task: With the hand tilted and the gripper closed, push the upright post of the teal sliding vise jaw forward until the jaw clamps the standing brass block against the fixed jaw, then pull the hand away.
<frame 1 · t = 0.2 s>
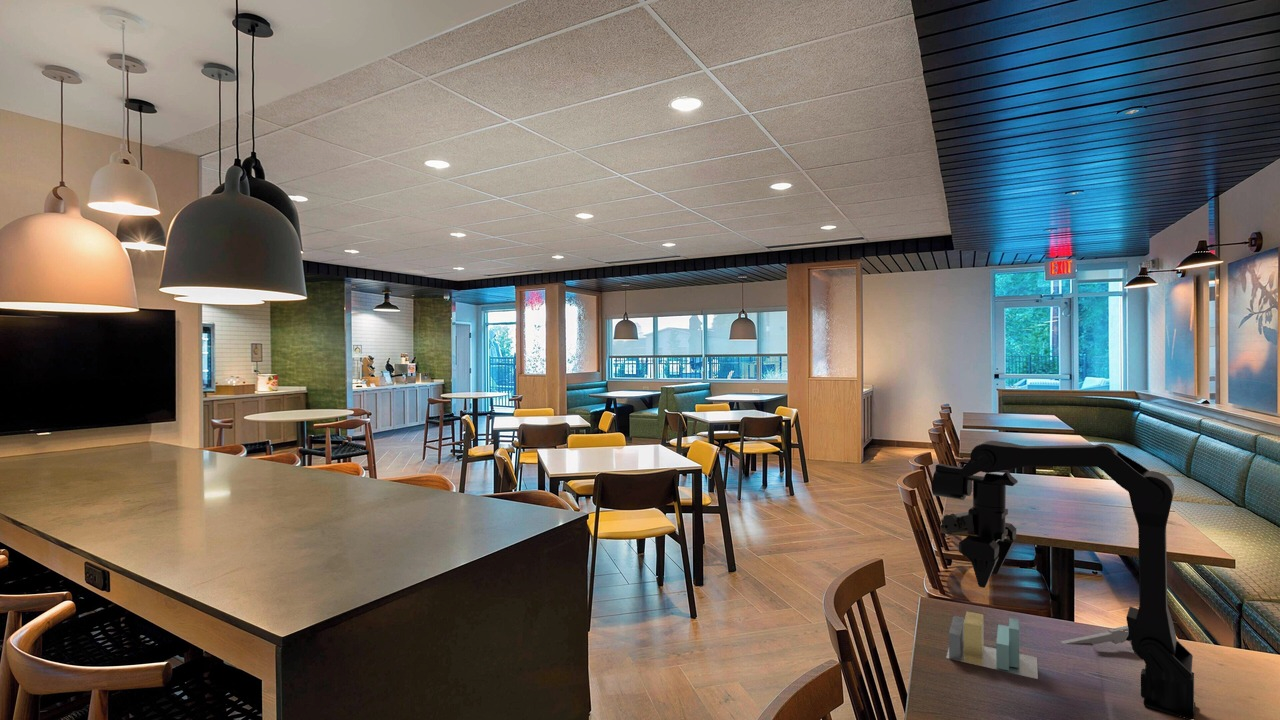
hand: (988, 580, 123), 15 cm above the table, tool pointing down, fingers open, 9 cm apart
brass block: (974, 653, 120), point 1 cm above the table, touching vise
vise: (991, 665, 119), on the table
vise jaw: (1008, 641, 117), point 5 cm above the table, slide at 0.0 cm
grey long thin bar: (1096, 651, 124), on the table
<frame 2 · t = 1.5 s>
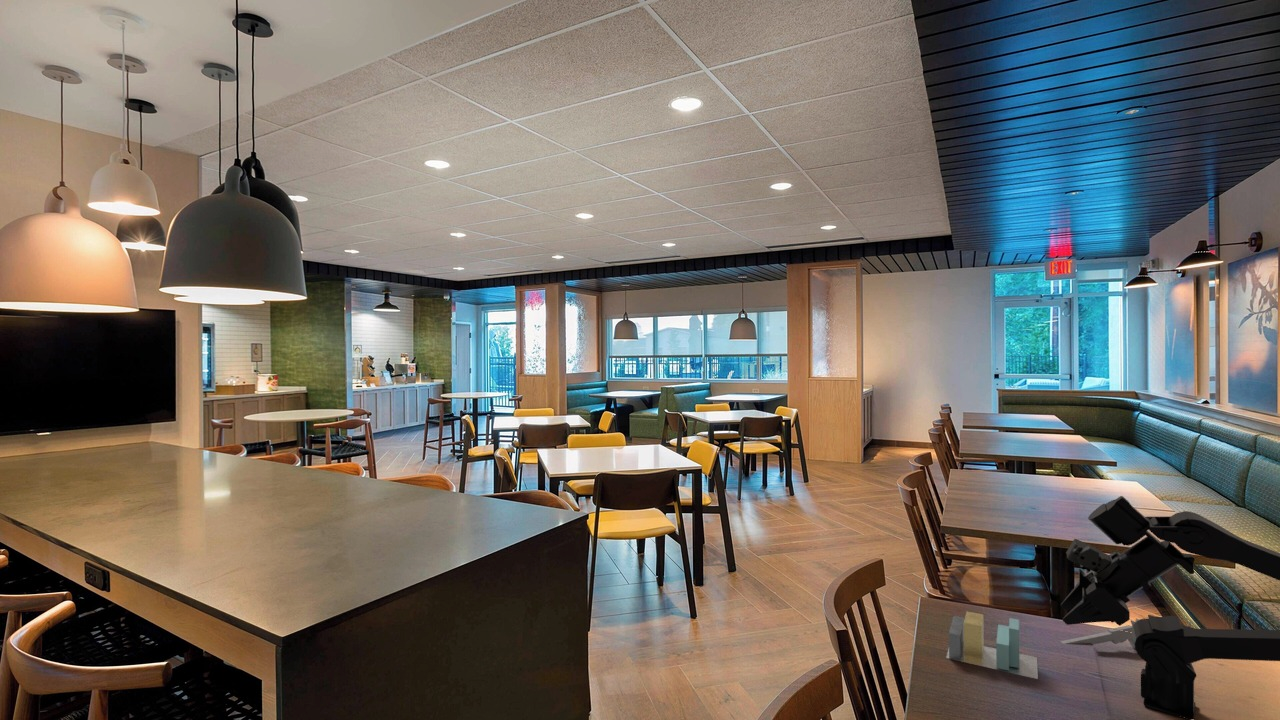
hand: (1063, 614, 112), 13 cm above the table, tool tilted 45°, fingers open, 7 cm apart
nothing on the table moved.
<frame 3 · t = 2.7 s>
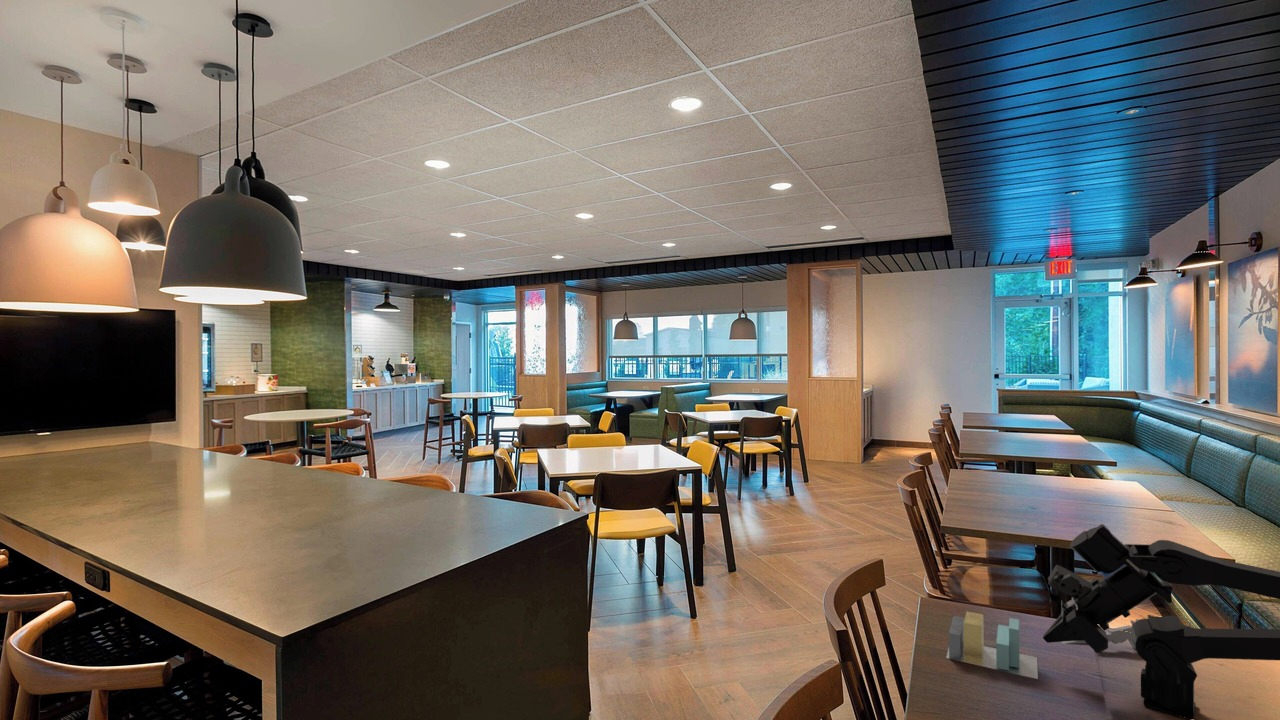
hand: (1044, 639, 114), 7 cm above the table, tool tilted 45°, fingers closed
nothing on the table moved.
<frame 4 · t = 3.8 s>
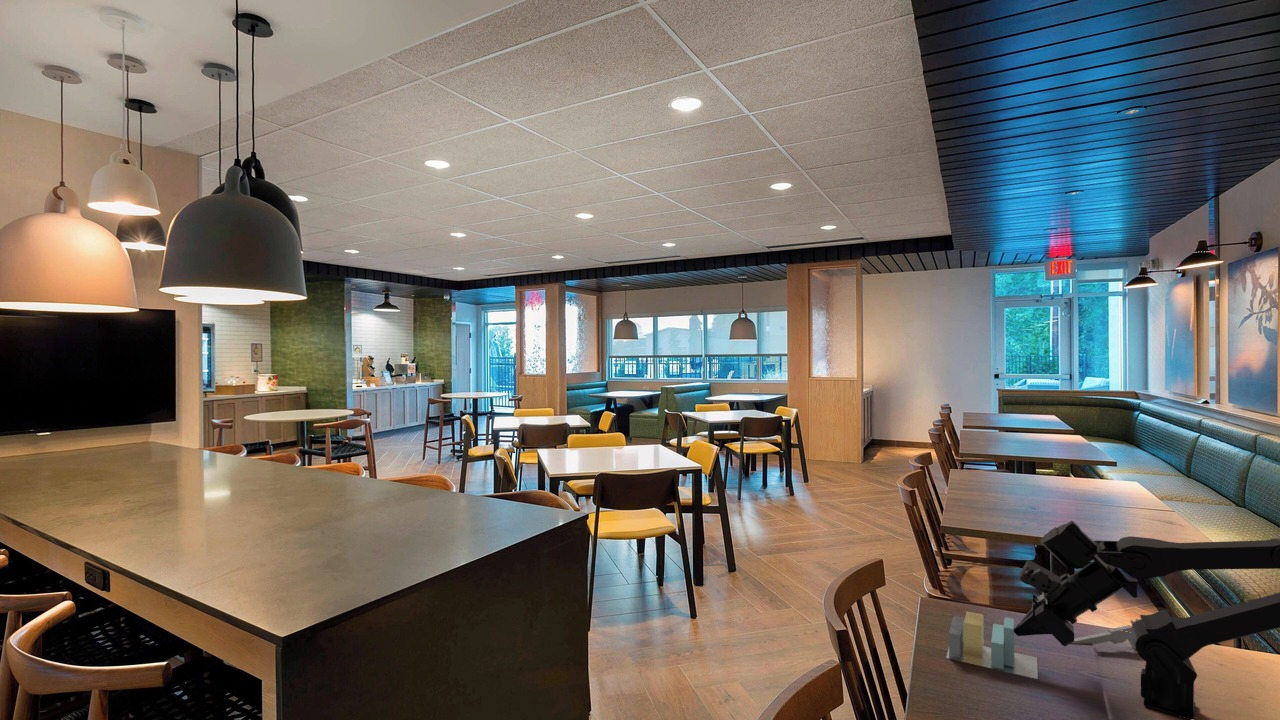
hand: (1015, 633, 116), 7 cm above the table, tool tilted 45°, fingers closed, pressing on vise jaw
vise jaw: (1003, 640, 117), point 5 cm above the table, slide at 0.9 cm, touching gripper
everything else where it was.
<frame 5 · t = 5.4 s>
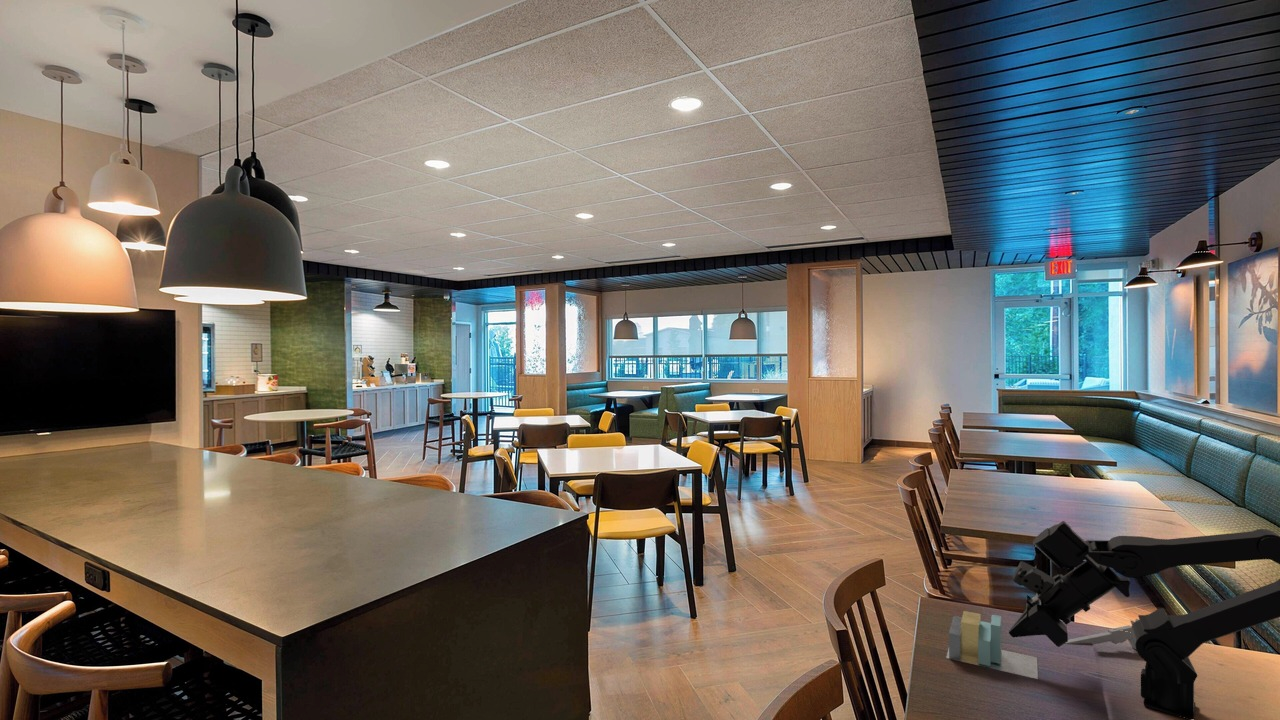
hand: (1010, 634, 117), 7 cm above the table, tool tilted 45°, fingers closed
brass block: (971, 653, 120), point 1 cm above the table, touching vise, vise jaw
vise jaw: (990, 637, 119), point 5 cm above the table, slide at 3.0 cm, touching brass block
everything else where it was.
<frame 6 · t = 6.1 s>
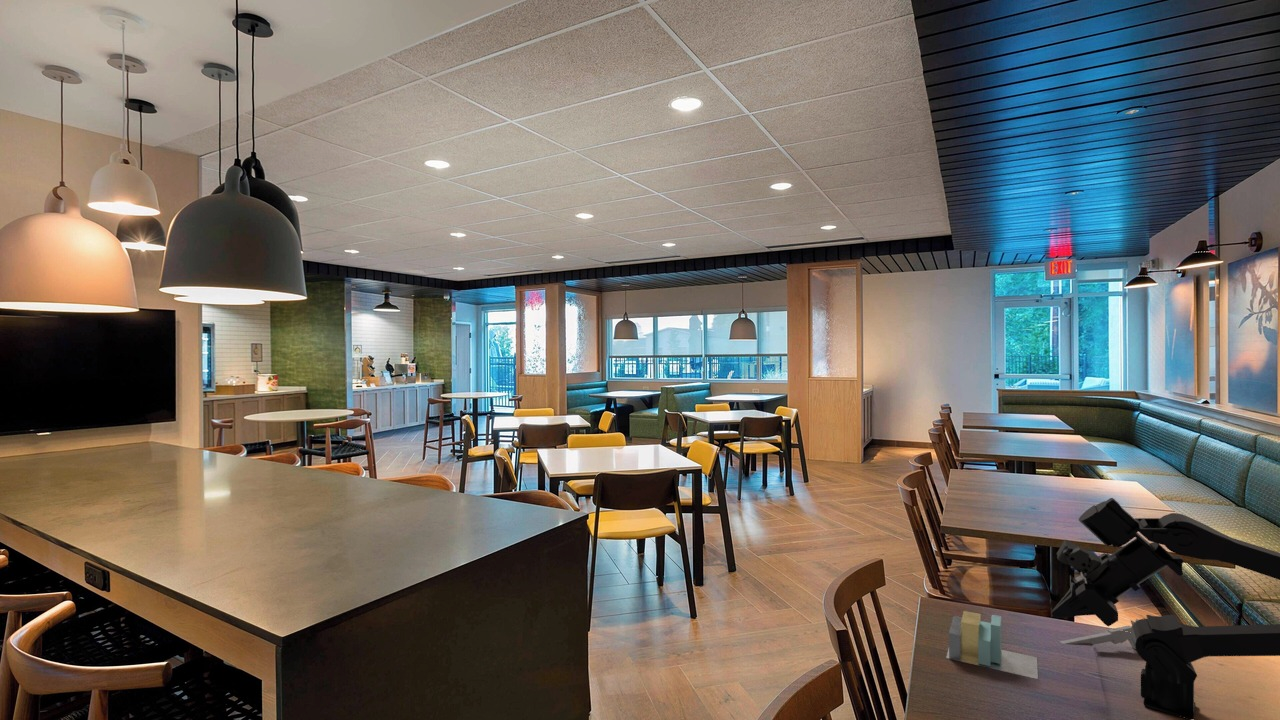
hand: (1053, 615, 113), 12 cm above the table, tool tilted 45°, fingers closed
nothing on the table moved.
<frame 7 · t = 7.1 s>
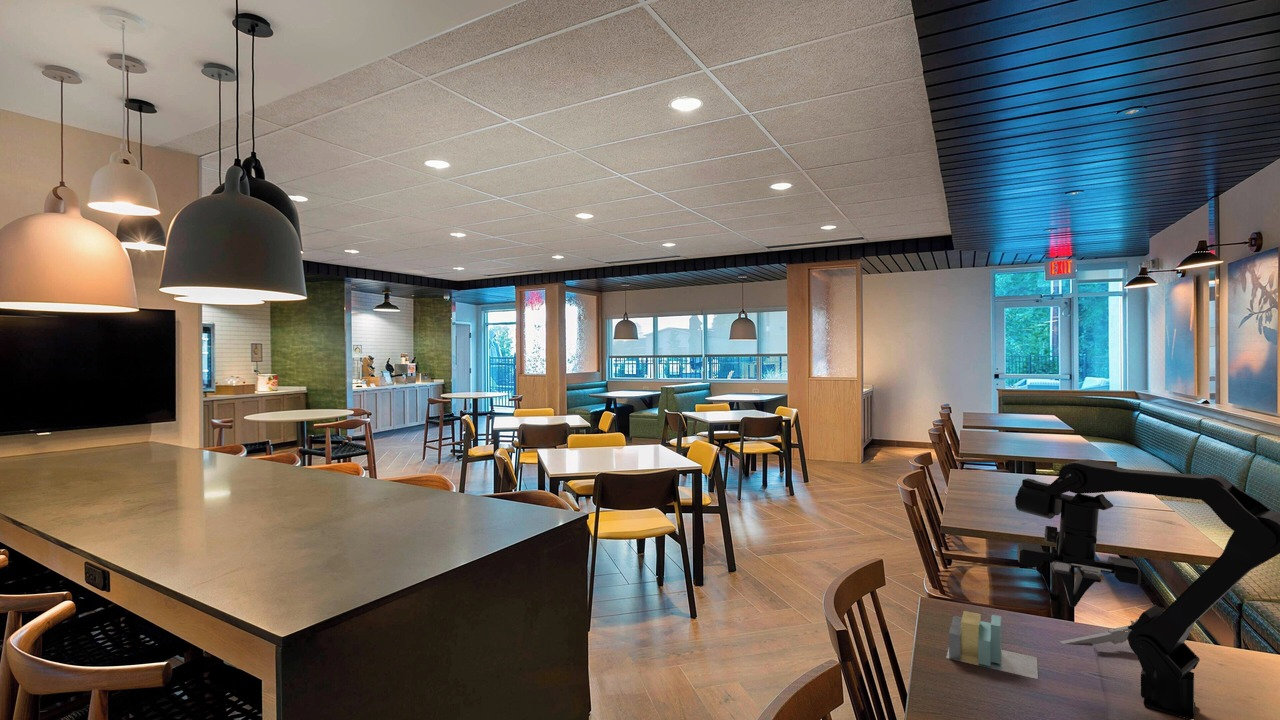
hand: (1072, 605, 116), 12 cm above the table, tool pointing down, fingers closed
nothing on the table moved.
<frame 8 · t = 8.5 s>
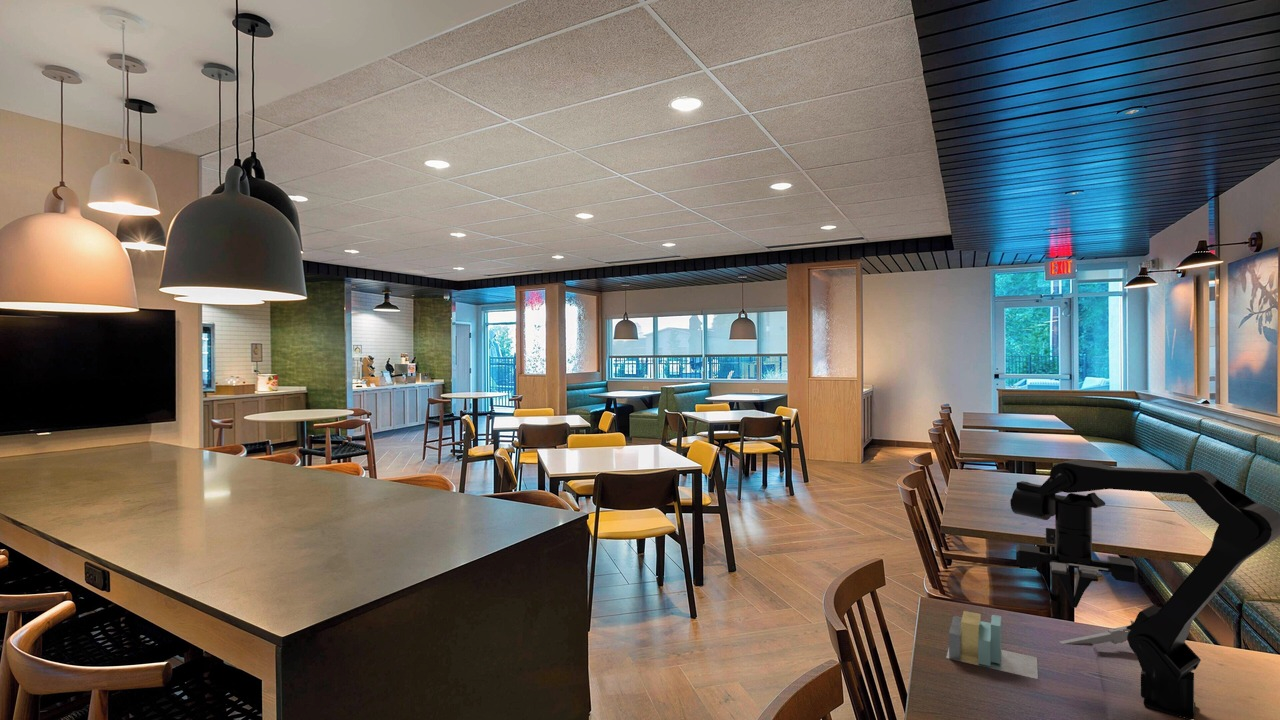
hand: (1073, 606, 117), 12 cm above the table, tool pointing down, fingers closed
nothing on the table moved.
at the end: vise jaw slide at 3.0 cm; brass block 0.1 cm from the target spot, point 1.5 cm above the table; brass block tilted 0° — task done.
